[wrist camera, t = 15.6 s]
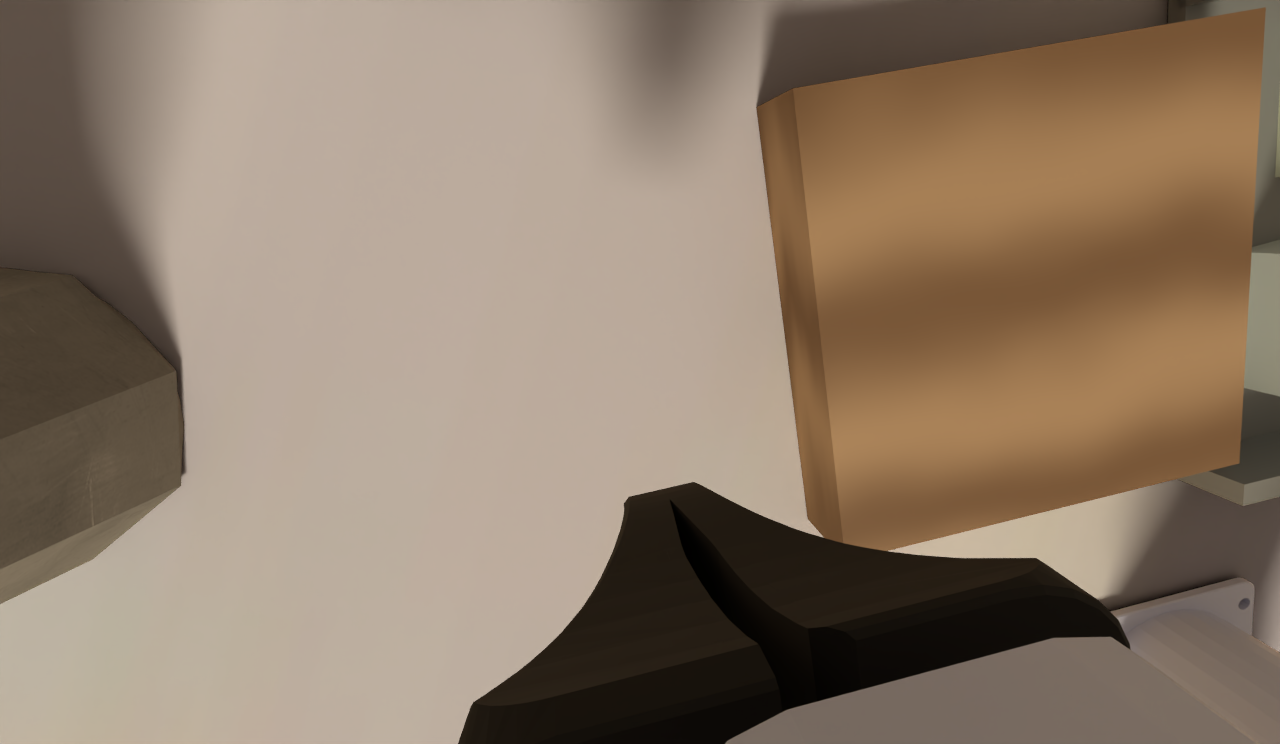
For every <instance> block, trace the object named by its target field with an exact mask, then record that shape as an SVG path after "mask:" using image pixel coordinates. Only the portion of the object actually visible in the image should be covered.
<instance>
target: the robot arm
mask: <svg viewBox="0 0 1280 744" xmlns="http://www.w3.org/2000/svg"><path fill="white" fill-rule="evenodd" d="M1254 595H1255V588H1254V585H1253V584H1252V583H1251V582H1249V581H1248V580H1246V579H1243V578H1241V577H1240V578H1234V579H1230V580H1226V581H1223V582H1219V583H1215V584H1211V585H1208V586H1204V587H1200V588H1197V589H1193V590H1189V591H1185V592H1182V593H1178V594H1174V595H1170V596H1167V597H1163V598H1159V599H1155V600H1152V601H1148V602H1144V603H1140V604H1137V605H1133V606H1129V607H1125V608H1122V609H1118V610H1114V611H1111V612H1110V611H1109V610H1108V609H1107V608H1106V607H1105V606H1104V605H1103V604H1102V603H1101V602H1100V601H1099V600H1097V599H1096V598H1094V597H1093V596H1091V595H1090V594H1088V593H1087V592H1085V591H1084V590H1083V589H1081V588H1080V587H1078V586H1077V585H1075V584H1074V583H1072V582H1071V581H1069V580H1068V579H1066V578H1065V577H1064V576H1062V575H1061V574H1059V573H1058V572H1056V571H1055V570H1053V569H1052V568H1050V567H1049V566H1047V565H1046V564H1044V563H1043V562H1041V561H1040V560H1038V559H1037V558H949V557H935V556H922V555H912V554H904V553H895V552H888V551H883V550H877V549H871V548H865V547H860V546H855V545H850V544H846V543H841V542H837V541H833V540H830V539H826V538H823V537H819V536H816V535H812V534H808V533H805V532H802V531H799V530H796V529H793V528H791V527H788V526H786V525H783V524H781V523H778V522H775V521H773V520H770V519H768V518H766V517H763V516H761V515H759V514H757V513H754V512H752V511H750V510H748V509H746V508H744V507H742V506H740V505H738V504H736V503H734V502H732V501H730V500H728V499H726V498H724V497H722V496H720V495H719V494H717V493H715V492H713V491H711V490H709V489H707V488H705V487H704V486H702V485H700V484H697V483H695V482H692V483H688V484H683V485H679V486H675V487H670V488H666V489H662V490H657V491H653V492H648V493H644V494H640V495H635V496H631V497H629V498H628V499H627V500H626V502H625V503H624V517H623V522H622V526H621V530H620V532H619V535H618V538H617V541H616V544H615V547H614V550H613V552H612V555H611V557H610V559H609V561H608V563H607V566H606V568H605V570H604V572H603V574H602V576H601V578H600V580H599V582H598V584H597V585H596V587H595V589H594V591H593V592H592V594H591V595H590V597H589V598H588V600H587V601H586V603H585V605H584V606H583V607H582V609H581V610H580V611H579V613H578V614H577V615H576V616H575V617H574V618H573V620H572V621H571V622H570V623H569V624H568V626H567V627H566V628H565V629H564V630H563V631H562V633H561V634H560V635H559V636H558V637H557V638H556V639H555V640H554V641H553V642H552V643H550V644H549V645H548V646H547V647H546V648H545V649H544V650H543V651H542V652H541V653H540V654H539V655H537V656H536V657H535V658H534V659H533V660H532V661H531V662H529V663H528V664H527V665H526V666H524V667H523V668H522V669H521V670H519V671H518V672H517V673H515V674H514V675H512V676H511V677H510V678H508V679H507V680H505V681H504V682H503V683H501V684H500V685H498V686H497V687H496V688H494V689H493V690H491V691H490V692H488V693H487V694H486V695H484V696H483V697H481V698H479V699H478V700H476V701H475V702H473V704H472V706H471V708H470V711H469V714H468V716H467V719H466V722H465V725H464V728H463V731H462V734H461V737H460V740H459V743H458V744H1280V652H1278V651H1277V650H1275V649H1273V648H1271V647H1270V646H1268V645H1266V644H1265V643H1263V642H1261V641H1260V640H1258V639H1256V638H1254V637H1253V636H1252V625H1253V610H1254Z"/></svg>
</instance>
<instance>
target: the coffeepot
mask: <svg viewBox="0 0 1280 744" xmlns="http://www.w3.org/2000/svg"><path fill="white" fill-rule="evenodd" d="M183 433H184V422H183V416H182V409H181V403H180V398H179V395H178V392H177V373H176V370H175V369H174V368H173V367H172V366H171V364H170V363H169V362H168V361H167V360H166V359H165V358H164V357H163V356H162V355H161V354H160V353H159V351H158V350H157V349H156V348H155V347H154V346H153V345H152V344H151V343H150V342H149V341H148V339H147V338H146V337H145V336H144V335H143V334H142V333H141V332H140V331H139V330H138V329H137V327H136V326H135V325H134V324H133V323H132V322H131V321H129V320H128V319H127V318H126V317H124V316H123V315H122V314H120V313H119V312H118V311H117V310H115V309H114V308H113V307H111V306H110V305H109V304H108V303H106V302H105V301H103V300H101V299H99V298H97V297H96V296H95V295H93V294H92V293H91V292H90V291H89V290H88V289H87V288H86V287H85V286H84V285H83V284H81V283H80V282H79V281H78V280H77V279H76V278H75V277H74V276H73V275H65V274H54V273H43V272H33V271H26V270H19V269H11V268H0V604H1V603H3V602H5V601H7V600H9V599H11V598H14V597H16V596H18V595H20V594H22V593H24V592H26V591H28V590H30V589H32V588H34V587H36V586H38V585H40V584H42V583H45V582H47V581H49V580H51V579H53V578H55V577H57V576H59V575H61V574H63V573H65V572H67V571H69V570H71V569H73V568H75V567H78V566H80V565H82V564H84V563H86V562H88V561H90V560H92V559H94V558H95V557H96V556H97V555H98V554H100V553H101V552H102V551H103V550H104V549H106V548H107V547H108V546H109V545H110V544H112V543H113V542H114V541H115V540H116V539H118V538H119V537H120V536H121V535H122V534H124V533H125V532H126V531H127V530H128V529H130V528H131V527H132V526H133V525H134V524H136V523H137V522H138V521H139V520H140V519H142V518H143V517H144V516H145V515H146V514H147V513H149V512H150V511H151V510H152V509H153V508H155V507H156V506H157V505H158V504H159V503H161V502H162V501H163V500H164V499H165V498H167V497H168V496H169V495H170V494H171V493H173V492H174V491H175V490H176V489H177V488H179V487H180V486H181V469H182V446H183Z"/></svg>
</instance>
